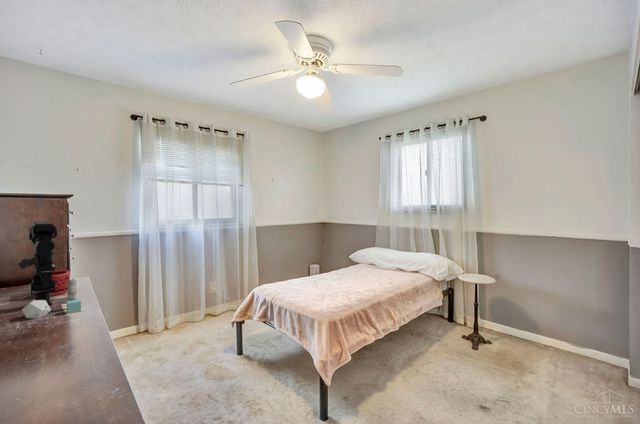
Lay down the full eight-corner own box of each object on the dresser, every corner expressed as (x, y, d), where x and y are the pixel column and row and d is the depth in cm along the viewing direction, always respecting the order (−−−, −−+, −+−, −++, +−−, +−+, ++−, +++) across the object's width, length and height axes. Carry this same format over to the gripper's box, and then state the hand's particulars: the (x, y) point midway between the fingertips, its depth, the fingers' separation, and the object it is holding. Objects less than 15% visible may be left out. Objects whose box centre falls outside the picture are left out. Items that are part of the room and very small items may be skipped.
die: (25, 325, 121) (44, 305, 124) (11, 314, 122) (30, 294, 125) (42, 325, 129) (60, 305, 131) (29, 314, 130) (46, 295, 133)
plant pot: (44, 292, 166) (44, 271, 166) (73, 289, 172) (73, 269, 171) (33, 298, 154) (33, 276, 154) (65, 295, 160) (64, 274, 160)
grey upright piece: (61, 306, 141) (60, 278, 141) (77, 303, 146) (76, 276, 146) (66, 317, 128) (66, 285, 128) (83, 313, 132) (83, 283, 132)
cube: (66, 311, 133) (66, 301, 133) (79, 308, 136) (79, 299, 136) (68, 313, 130) (68, 303, 129) (81, 311, 133) (81, 301, 133)
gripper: (18, 250, 135) (18, 283, 135) (19, 254, 122) (19, 291, 122) (51, 247, 143) (51, 279, 143) (55, 251, 130) (55, 286, 130)
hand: (44, 284), depth 134 cm, fingers open, 9 cm apart
